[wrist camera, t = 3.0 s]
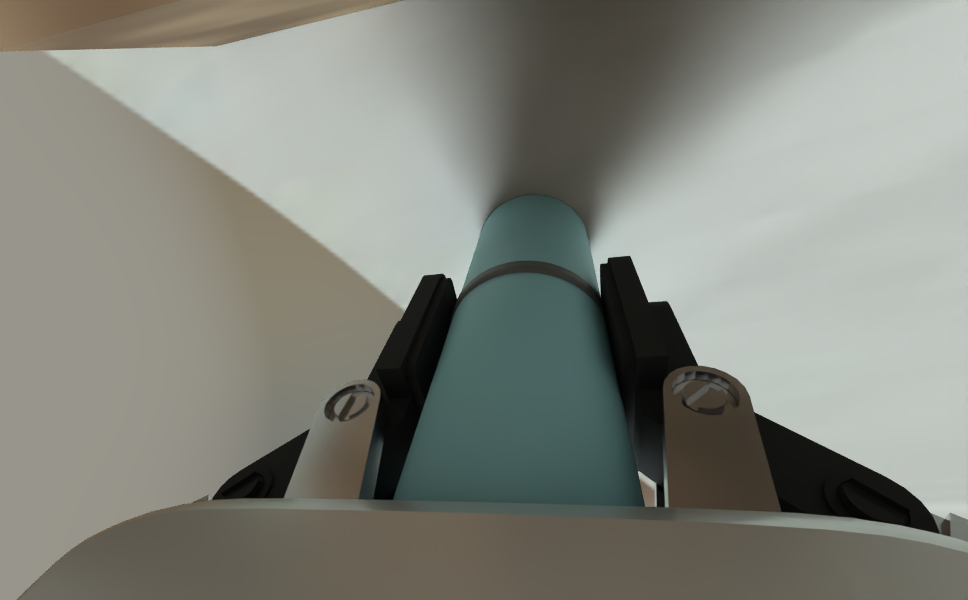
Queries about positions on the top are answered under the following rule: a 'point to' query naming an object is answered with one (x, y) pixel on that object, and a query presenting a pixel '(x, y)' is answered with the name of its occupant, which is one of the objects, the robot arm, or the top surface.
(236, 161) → the top surface
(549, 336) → the peg
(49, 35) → the socket block
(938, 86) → the top surface
